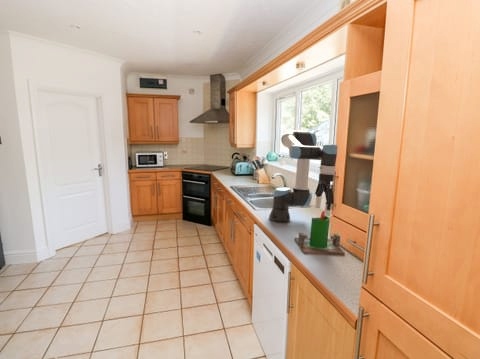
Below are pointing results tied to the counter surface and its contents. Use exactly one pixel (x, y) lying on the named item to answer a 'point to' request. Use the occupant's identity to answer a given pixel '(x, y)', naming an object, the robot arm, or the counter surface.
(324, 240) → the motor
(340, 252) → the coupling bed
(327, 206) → the robot arm
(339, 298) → the counter surface
